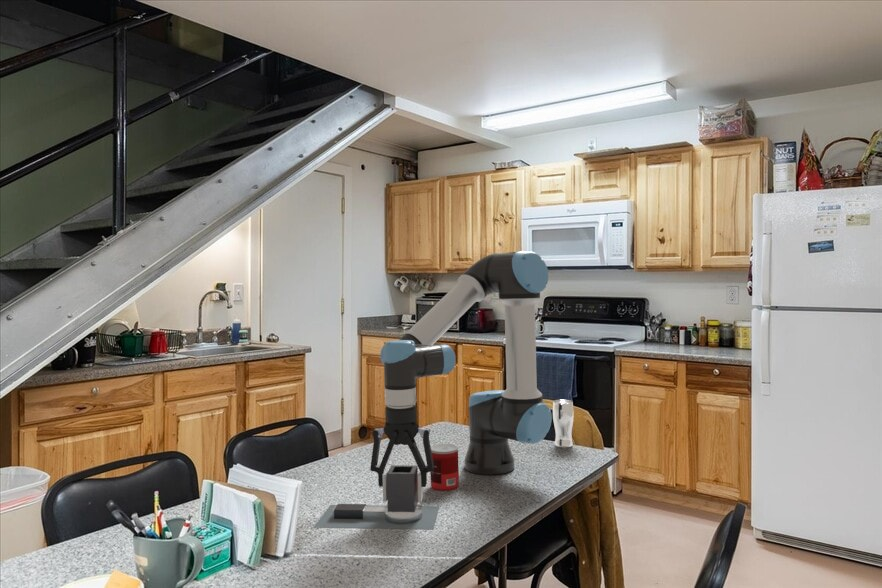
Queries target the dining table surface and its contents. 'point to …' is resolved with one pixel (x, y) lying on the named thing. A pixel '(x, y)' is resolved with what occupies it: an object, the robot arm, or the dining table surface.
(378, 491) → the dining table surface
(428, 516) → the mat
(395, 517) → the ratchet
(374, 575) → the dining table surface
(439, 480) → the canned food
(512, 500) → the dining table surface
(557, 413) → the beer glass
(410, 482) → the open square tube
